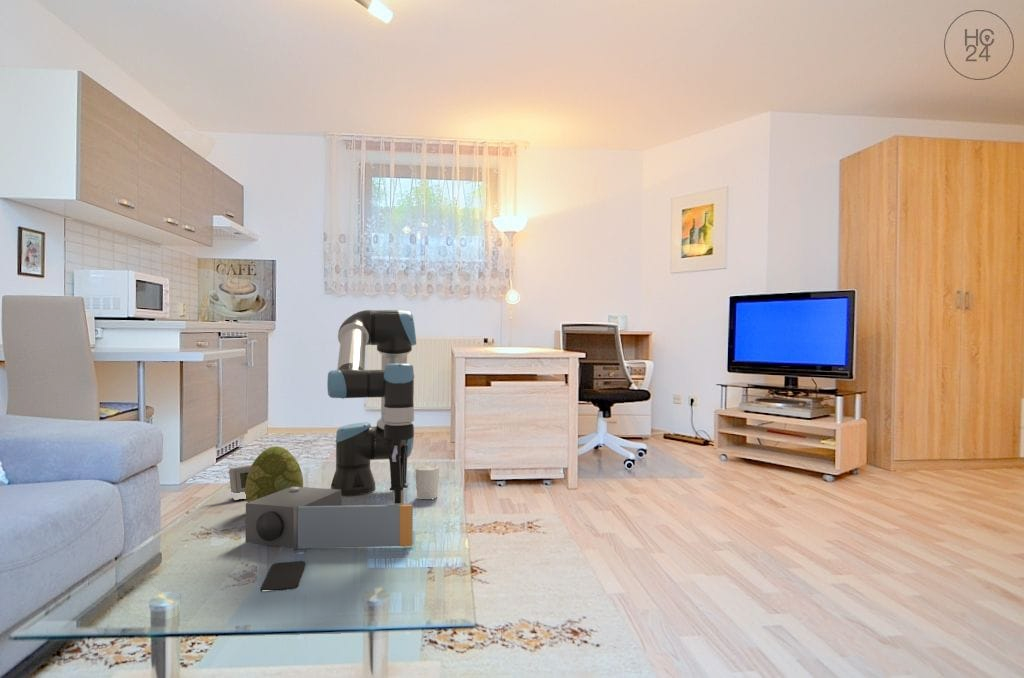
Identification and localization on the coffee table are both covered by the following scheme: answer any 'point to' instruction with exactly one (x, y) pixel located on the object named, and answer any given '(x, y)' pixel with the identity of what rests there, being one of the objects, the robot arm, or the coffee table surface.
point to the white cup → (427, 481)
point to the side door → (353, 526)
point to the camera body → (283, 513)
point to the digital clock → (238, 478)
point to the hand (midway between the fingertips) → (398, 514)
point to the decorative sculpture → (272, 473)
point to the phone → (284, 576)
